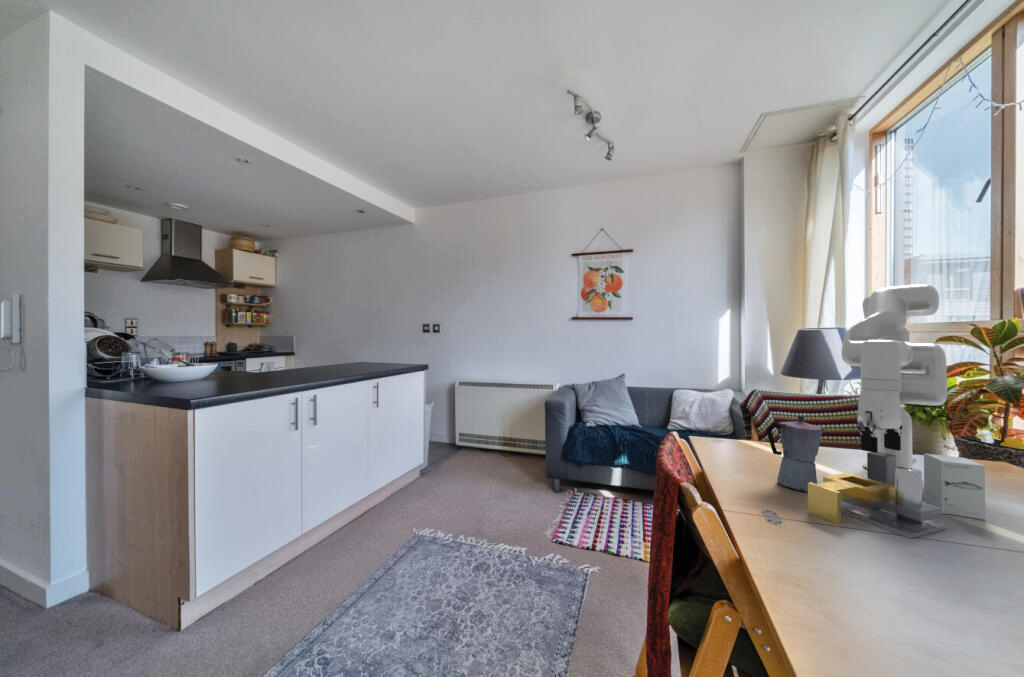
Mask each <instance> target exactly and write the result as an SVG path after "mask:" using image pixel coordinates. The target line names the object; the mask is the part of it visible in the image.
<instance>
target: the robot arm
mask: <svg viewBox="0 0 1024 677" xmlns="http://www.w3.org/2000/svg"><path fill="white" fill-rule="evenodd" d="M939 306H940V295H939V292H938V290H937V289H936V287H935V286H933V285H930V284H923V283H921V284H920V283H919V284H909V285H908V284H907V285H898V286H896V285H895V286H886V287H881V288H878V289H877V290H874V291H873V292H872V293H871V294H870V295H867V296H866V297H865V298H864V299H863V301H862V311H863V315H864V319H862V320H860V321H859V322H857V323H855V324H854V325H852V326H851V327H849V329H847V331H846V332H845V334H844V336H843V341H842V347H841V358H842V360H843V362H844V363H845V364H847V365H848V366H852V367H860V393H859V398H858V407H857V420H856V422H857V425H858V430H859V435H860V450H861V451H865V452H874V453H877V452H882V453H887V454H891V455H896V467H907V468H912V469H914V467H913V465H914V464H917V463H918V460H917V459H916V458H915V457H913V421H912V416H911V415H910V414H909V412H908V411H906V410H905V409H904V408H903V406H902V405H901V404H911V405H912V404H913V405H921V406H941V405H943V404H944V403H946V401H947V399H948V372H947V358H946V353H945V351H944V348H942V346H941V345H938V344H936V343H929V342H910V335H911V334H910V331H909V330H908V329H907V328H906V325H907V320H908V319H907V317H921V316H923V317H924V316H933V315H935V314H936V313H937V312H938V309H939ZM862 466H864V467H863V468H865V467H866V468H865V469H867V460H866V461H863V462H862Z"/></svg>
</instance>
